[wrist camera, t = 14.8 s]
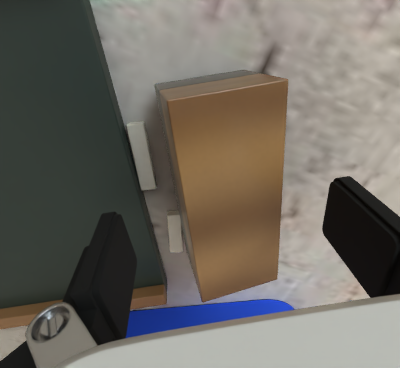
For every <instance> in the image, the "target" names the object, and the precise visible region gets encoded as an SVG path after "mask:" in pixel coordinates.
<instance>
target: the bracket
mask: <svg viewBox="0 0 400 368" xmlns="http://www.w3.org/2000/svg"><path fill="white" fill-rule="evenodd" d="M290 310H294V308H293V307H291V306H290V305H289V304H287V303H284V302H282V301H278V300H253V301H242V302H230V303H219V304H207V305H196V306H185V307H173V308H162V309H151V310H139V311H130V314H129V321H128V327H127V334H126V338H129V337H134V336H140V335H145V334H151V333H156V332H162V331H167V330H173V329H179V328H185V327H191V326H197V325H203V324H209V323H215V322H221V321H227V320H234V319H240V318H246V317H252V316H258V315H265V314H271V313H277V312H284V311H290Z"/></svg>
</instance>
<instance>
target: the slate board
mask: <svg viewBox="0 0 400 368" xmlns="http://www.w3.org/2000/svg"><path fill="white" fill-rule="evenodd" d="M108 212H116V213H117V214H121V215H122V217H123V220H124V223H125V226H126V229H127V232H128V234H129V237H130V240H131V243H132V246H133V248H134V251H135V254H136V257H137V268H136V275H135V281H134V288H133V294H132V301H131V307H130V309H137V308H144V307H150V306H157V305H163V304H166V303H167V279H166V275H165V272H164V268H163V265H162V261H161V257H160V254H159V250H158V247H157V243H156V239H155V236H154V232H153V229H152V225H151V221H150V218H149V214H148V210H147V207H146V203H145V200H144V196H143V192H142V190H141V187H140V183H139V179H138V174H137V171H136V167H135V164H134V160H133V156H132V153H131V149H130V145H129V142H128V138H127V135H126V131H125V127H124V124H123V120H122V117H121V113H120V109H119V106H118V102H117V99H116V95H115V91H114V88H113V84H112V80H111V77H110V73H109V70H108V66H107V62H106V59H105V55H104V52H103V48H102V44H101V41H100V37H99V34H98V30H97V26H96V23H95V19H94V16H93V12H92V8H91V5H90V1H89V0H0V329H6V328H12V327H19V326H25V325H29V324H30V322H31V321H32V320H33V318H34V317H35V316H36V315H37V314H38V313H39V312H41V311H42V310H43V309H44V308H46V307H48V306H50V305H52V304H55V303H58V302H62V301H63V298H64V296H65V294H66V291H67V289H68V286H69V284H70V281H71V279H72V276H73V274H74V271H75V269H76V267H77V264H78V262H79V259H80V257H81V254H82V252H83V250H84V248H85V247H86V246H89V244H90V242H91V239H92V237H93V234H94V232H95V229H96V226H97V224H98V221H99V219H100V216H101V214H102V213H108Z"/></svg>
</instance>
